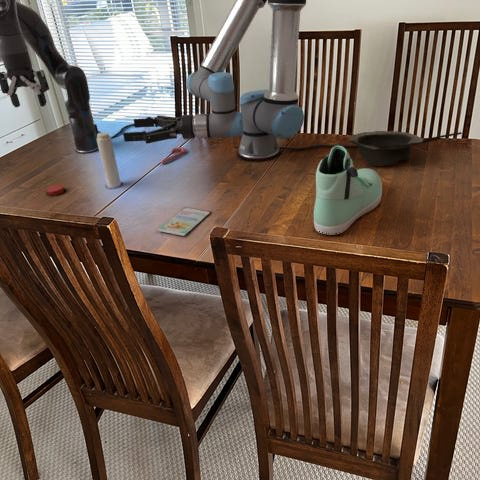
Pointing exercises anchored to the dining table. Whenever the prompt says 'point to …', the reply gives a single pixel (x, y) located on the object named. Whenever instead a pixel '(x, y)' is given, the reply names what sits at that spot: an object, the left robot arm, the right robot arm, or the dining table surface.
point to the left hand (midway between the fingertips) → (30, 106)
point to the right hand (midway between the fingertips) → (129, 130)
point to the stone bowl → (384, 146)
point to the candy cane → (182, 151)
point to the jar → (108, 160)
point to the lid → (55, 190)
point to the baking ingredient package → (183, 221)
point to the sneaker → (343, 192)
